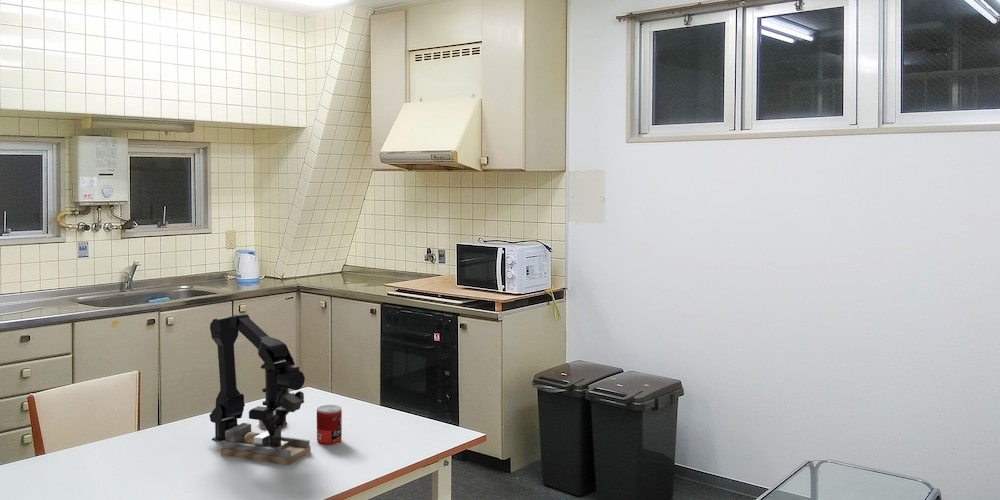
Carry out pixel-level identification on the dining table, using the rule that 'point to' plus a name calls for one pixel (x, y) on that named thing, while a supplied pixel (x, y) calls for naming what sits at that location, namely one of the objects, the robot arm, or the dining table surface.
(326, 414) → the canned food
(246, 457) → the press base
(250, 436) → the tan rounded piece
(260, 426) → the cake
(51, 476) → the dining table surface
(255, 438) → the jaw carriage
